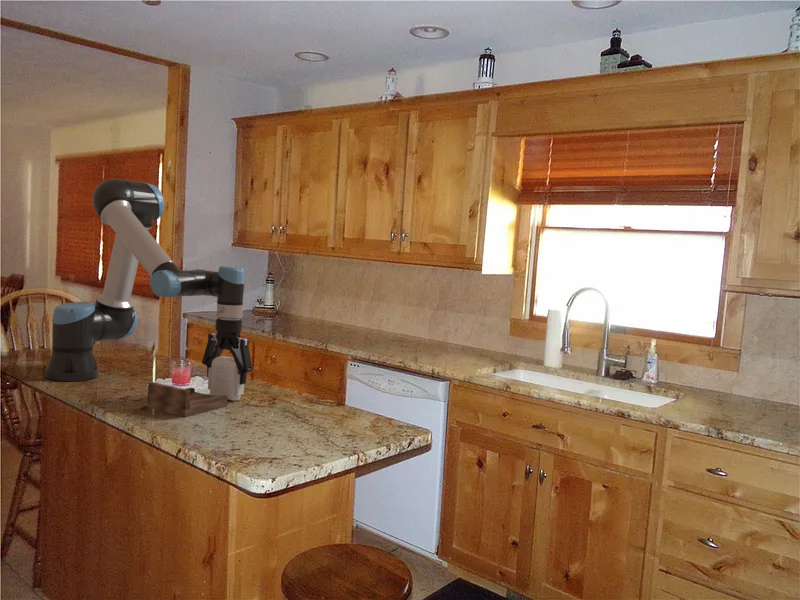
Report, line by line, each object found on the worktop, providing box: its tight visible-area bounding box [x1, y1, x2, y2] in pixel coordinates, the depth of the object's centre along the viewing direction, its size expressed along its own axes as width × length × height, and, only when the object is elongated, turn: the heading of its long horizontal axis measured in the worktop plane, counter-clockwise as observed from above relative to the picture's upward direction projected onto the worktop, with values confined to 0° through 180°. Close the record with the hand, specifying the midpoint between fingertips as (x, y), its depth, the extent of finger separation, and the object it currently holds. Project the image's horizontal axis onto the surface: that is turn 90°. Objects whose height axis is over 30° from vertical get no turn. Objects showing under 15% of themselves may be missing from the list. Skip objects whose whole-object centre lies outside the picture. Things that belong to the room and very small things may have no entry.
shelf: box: [146, 381, 228, 418], centre depth 181 cm, size 14×16×7 cm
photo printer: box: [209, 355, 242, 402], centre depth 194 cm, size 10×4×12 cm, turn 61°
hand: (225, 391), depth 195 cm, fingers closed on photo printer, 10 cm apart
